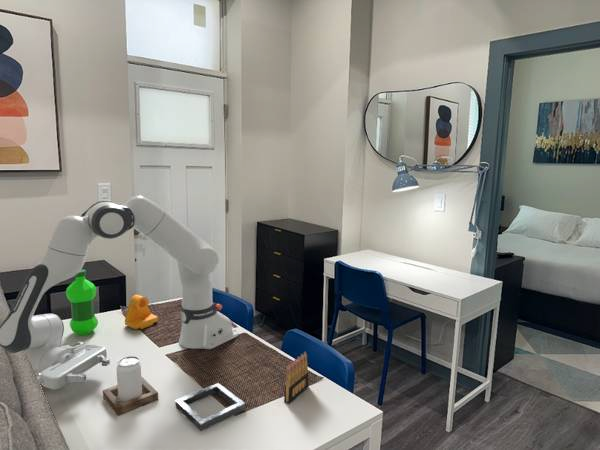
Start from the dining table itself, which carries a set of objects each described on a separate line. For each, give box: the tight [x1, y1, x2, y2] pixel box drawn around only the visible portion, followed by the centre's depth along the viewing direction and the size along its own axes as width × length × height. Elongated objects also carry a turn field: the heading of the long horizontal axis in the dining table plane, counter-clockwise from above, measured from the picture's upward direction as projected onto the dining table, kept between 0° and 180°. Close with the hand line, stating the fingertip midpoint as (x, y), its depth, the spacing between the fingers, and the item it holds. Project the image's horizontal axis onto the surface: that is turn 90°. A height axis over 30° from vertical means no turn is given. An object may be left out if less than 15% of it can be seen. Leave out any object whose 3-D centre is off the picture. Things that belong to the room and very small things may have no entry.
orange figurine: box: [124, 294, 159, 330], centre depth 175 cm, size 11×7×12 cm, turn 143°
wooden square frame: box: [102, 375, 159, 417], centre depth 124 cm, size 12×12×2 cm
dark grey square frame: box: [175, 382, 246, 432], centre depth 121 cm, size 14×14×2 cm
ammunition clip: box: [283, 351, 309, 404], centre depth 127 cm, size 11×2×12 cm, turn 147°
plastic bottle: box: [65, 268, 99, 336], centre depth 165 cm, size 10×10×25 cm
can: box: [116, 355, 143, 403], centre depth 123 cm, size 6×6×12 cm
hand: (96, 370), depth 127 cm, fingers open, 8 cm apart
